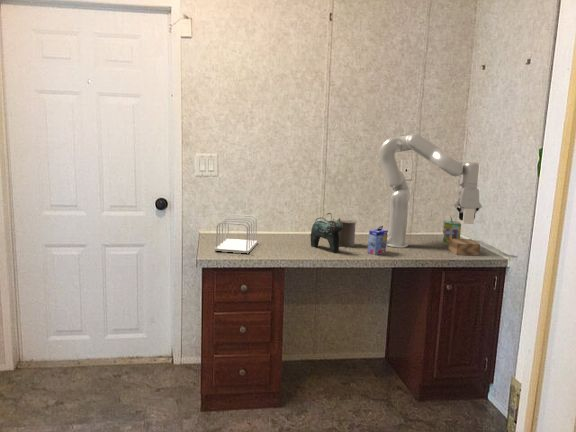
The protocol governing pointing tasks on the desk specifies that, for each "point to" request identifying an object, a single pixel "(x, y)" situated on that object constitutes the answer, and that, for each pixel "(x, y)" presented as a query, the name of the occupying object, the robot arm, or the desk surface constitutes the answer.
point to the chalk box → (451, 230)
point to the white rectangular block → (468, 215)
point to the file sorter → (236, 244)
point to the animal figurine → (326, 233)
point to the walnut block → (464, 247)
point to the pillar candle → (347, 233)
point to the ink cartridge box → (377, 241)
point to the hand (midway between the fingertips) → (466, 219)
